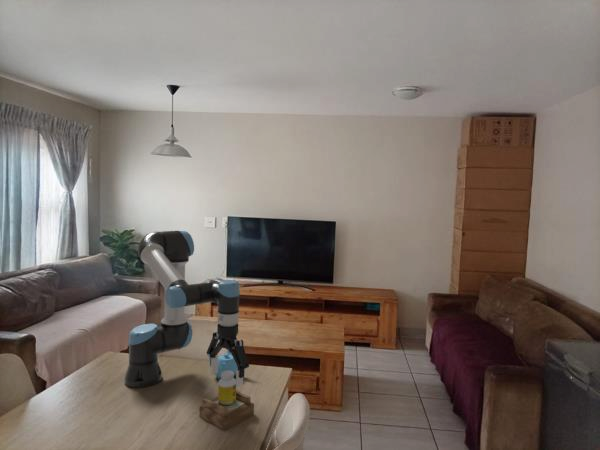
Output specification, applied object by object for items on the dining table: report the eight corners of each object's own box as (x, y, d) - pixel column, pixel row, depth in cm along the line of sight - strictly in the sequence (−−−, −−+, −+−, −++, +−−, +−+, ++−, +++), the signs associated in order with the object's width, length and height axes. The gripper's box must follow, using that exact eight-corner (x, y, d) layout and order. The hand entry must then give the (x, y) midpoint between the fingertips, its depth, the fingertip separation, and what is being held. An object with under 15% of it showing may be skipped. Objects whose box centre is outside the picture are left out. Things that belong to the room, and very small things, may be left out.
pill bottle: (232, 409, 145) (232, 377, 144) (215, 407, 146) (215, 375, 145) (238, 400, 151) (238, 370, 150) (222, 398, 152) (222, 368, 152)
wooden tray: (199, 416, 148) (199, 399, 147) (228, 401, 159) (228, 385, 158) (225, 430, 139) (225, 412, 139) (253, 414, 150) (254, 397, 150)
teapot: (229, 367, 191) (229, 346, 190) (247, 376, 182) (247, 354, 181) (206, 375, 181) (206, 353, 181) (223, 385, 172) (223, 362, 172)
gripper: (197, 318, 151) (196, 372, 153) (244, 334, 136) (243, 394, 138) (213, 313, 157) (212, 366, 159) (260, 328, 142) (258, 386, 144)
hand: (226, 379), depth 148 cm, fingers open, 13 cm apart
